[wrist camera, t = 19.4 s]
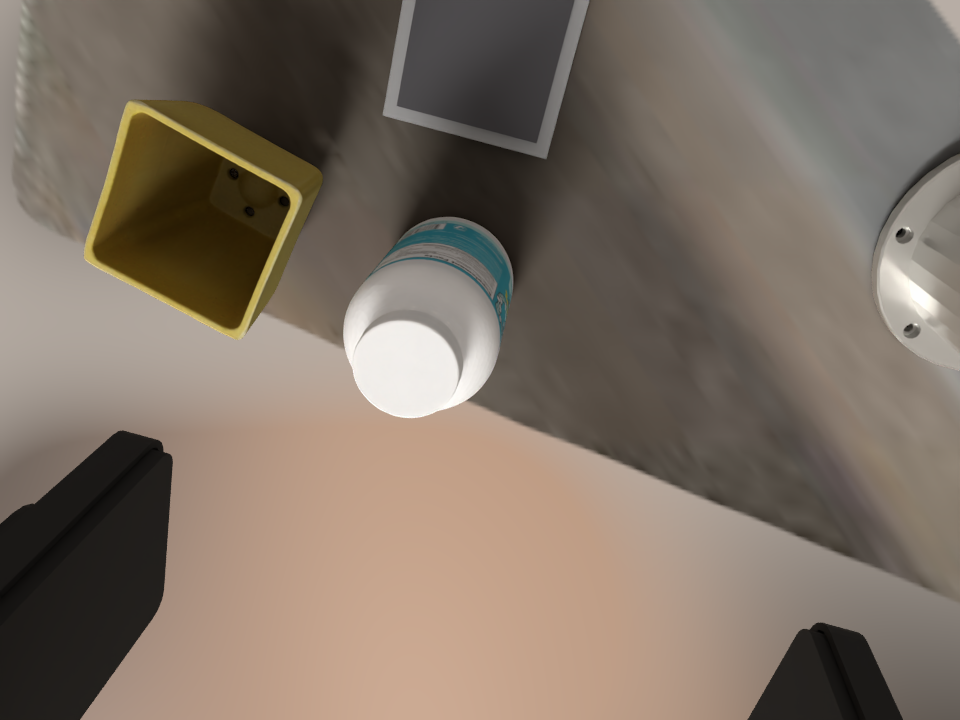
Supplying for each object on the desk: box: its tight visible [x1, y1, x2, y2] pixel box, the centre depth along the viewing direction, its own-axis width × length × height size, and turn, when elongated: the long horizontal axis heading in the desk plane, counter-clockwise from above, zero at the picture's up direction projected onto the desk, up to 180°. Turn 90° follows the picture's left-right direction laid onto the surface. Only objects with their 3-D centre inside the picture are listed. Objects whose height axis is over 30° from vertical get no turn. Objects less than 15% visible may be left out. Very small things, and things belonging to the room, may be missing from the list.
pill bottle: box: [343, 217, 513, 418], centre depth 38 cm, size 8×7×14 cm
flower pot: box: [84, 100, 323, 340], centre depth 39 cm, size 9×9×9 cm
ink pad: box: [383, 0, 589, 159], centre depth 38 cm, size 9×9×1 cm
